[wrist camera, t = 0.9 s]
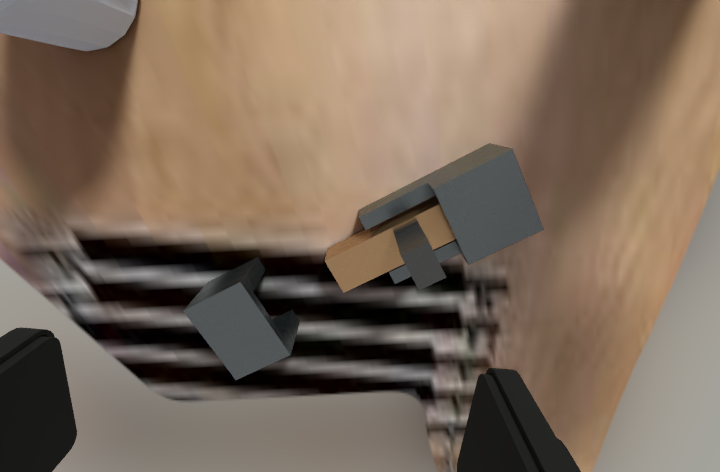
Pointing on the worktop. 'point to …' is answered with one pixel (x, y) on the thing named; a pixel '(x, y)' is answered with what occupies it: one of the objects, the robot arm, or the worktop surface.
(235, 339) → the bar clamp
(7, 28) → the soap bottle
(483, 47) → the worktop surface
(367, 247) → the sliding bolt with handle
